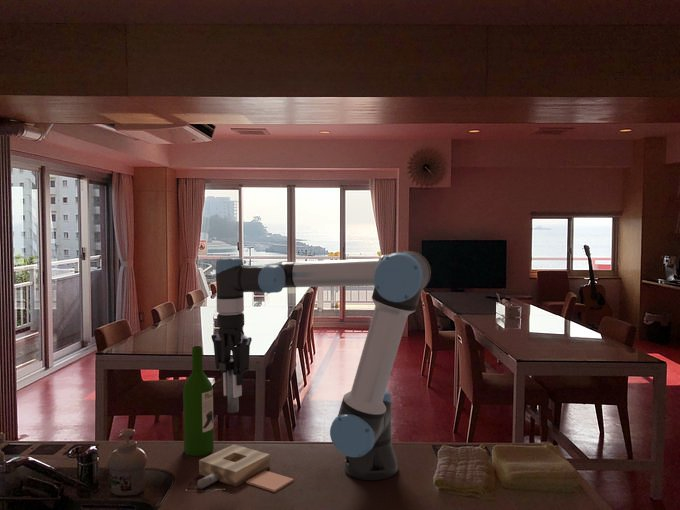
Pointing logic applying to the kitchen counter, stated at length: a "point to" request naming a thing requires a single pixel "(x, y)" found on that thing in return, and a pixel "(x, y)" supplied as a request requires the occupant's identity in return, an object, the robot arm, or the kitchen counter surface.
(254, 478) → the mat
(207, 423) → the wine bottle
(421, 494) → the kitchen counter surface
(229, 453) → the jig
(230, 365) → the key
